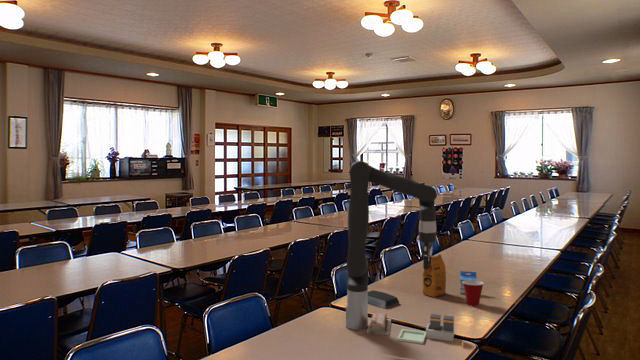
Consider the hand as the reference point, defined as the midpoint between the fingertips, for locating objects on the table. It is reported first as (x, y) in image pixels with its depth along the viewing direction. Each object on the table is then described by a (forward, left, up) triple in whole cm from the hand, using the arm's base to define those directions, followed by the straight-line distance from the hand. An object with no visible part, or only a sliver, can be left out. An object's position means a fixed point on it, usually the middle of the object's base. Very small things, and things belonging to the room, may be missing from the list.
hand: (427, 266), depth 196 cm
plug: (+4, -7, -27) cm, 28 cm away
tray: (-4, -13, -28) cm, 31 cm away
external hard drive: (-29, +29, -29) cm, 50 cm away
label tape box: (+15, +60, -28) cm, 68 cm away
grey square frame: (+6, -8, -28) cm, 30 cm away
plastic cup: (+18, +42, -28) cm, 54 cm away
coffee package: (-3, +53, -28) cm, 60 cm away
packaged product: (-20, -6, -29) cm, 36 cm away
